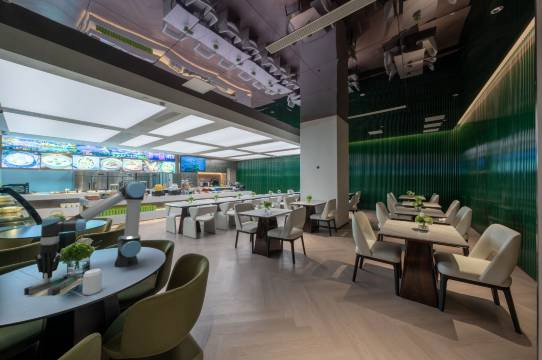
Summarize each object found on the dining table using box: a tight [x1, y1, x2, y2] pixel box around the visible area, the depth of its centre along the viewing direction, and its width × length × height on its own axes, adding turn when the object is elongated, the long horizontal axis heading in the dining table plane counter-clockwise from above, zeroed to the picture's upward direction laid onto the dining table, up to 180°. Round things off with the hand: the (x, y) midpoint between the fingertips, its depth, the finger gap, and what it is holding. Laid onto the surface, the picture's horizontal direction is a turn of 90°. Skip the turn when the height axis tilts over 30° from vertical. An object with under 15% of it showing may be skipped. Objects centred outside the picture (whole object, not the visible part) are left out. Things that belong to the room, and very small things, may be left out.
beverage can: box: [82, 268, 103, 296], centre depth 116 cm, size 8×8×12 cm
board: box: [25, 277, 83, 298], centre depth 120 cm, size 17×21×1 cm
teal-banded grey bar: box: [46, 274, 78, 297], centre depth 120 cm, size 7×20×3 cm, turn 10°
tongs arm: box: [23, 272, 77, 295], centre depth 120 cm, size 6×21×4 cm, turn 165°
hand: (46, 283), depth 120 cm, fingers closed
